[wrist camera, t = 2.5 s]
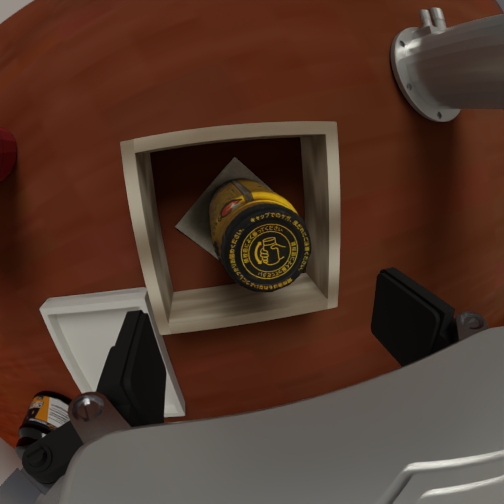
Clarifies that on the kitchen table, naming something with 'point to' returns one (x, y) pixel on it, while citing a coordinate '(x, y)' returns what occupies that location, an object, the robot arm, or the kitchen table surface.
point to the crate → (234, 295)
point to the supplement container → (42, 418)
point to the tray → (102, 336)
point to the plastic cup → (7, 153)
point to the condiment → (249, 230)
